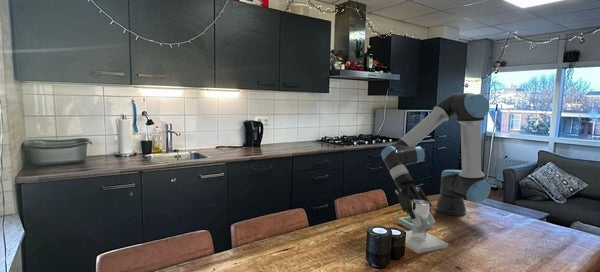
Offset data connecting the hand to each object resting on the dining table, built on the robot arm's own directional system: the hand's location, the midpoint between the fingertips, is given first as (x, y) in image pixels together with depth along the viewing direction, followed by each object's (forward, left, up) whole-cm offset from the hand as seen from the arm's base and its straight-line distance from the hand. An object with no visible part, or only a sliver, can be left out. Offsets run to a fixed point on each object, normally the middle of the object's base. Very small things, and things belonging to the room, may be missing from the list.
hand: (426, 224), depth 130 cm
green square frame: (-12, -19, -9) cm, 24 cm away
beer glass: (0, -4, -7) cm, 8 cm away
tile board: (0, -4, -9) cm, 10 cm away
